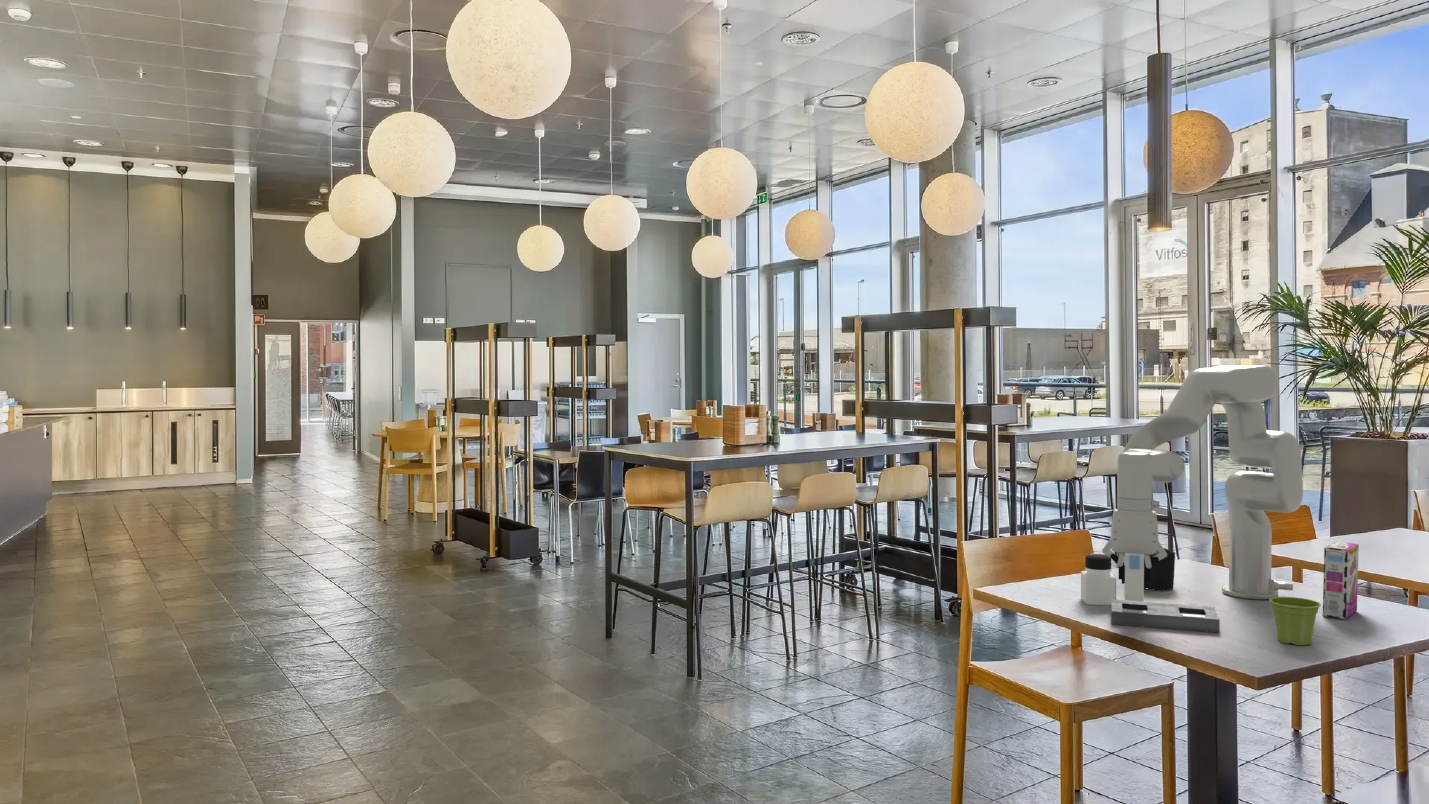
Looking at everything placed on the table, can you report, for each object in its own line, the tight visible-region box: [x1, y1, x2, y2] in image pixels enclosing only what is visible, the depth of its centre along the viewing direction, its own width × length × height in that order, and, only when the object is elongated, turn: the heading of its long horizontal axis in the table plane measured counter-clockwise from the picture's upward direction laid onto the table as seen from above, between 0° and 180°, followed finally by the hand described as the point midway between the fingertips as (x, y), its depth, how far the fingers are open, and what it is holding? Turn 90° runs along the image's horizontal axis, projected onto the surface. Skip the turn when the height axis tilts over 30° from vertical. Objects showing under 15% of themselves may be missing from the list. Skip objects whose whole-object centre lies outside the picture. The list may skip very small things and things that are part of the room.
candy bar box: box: [1322, 541, 1360, 620], centre depth 225 cm, size 11×5×16 cm, turn 134°
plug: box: [1123, 553, 1145, 602], centre depth 222 cm, size 4×5×11 cm
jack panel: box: [1110, 599, 1221, 634], centre depth 221 cm, size 22×12×3 cm, turn 68°
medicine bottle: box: [1080, 553, 1117, 607], centre depth 240 cm, size 7×7×12 cm
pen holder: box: [1144, 547, 1176, 591], centre depth 255 cm, size 9×9×10 cm
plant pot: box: [1268, 596, 1322, 646], centre depth 204 cm, size 9×9×9 cm
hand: (1134, 582), depth 223 cm, fingers closed on plug, 4 cm apart
